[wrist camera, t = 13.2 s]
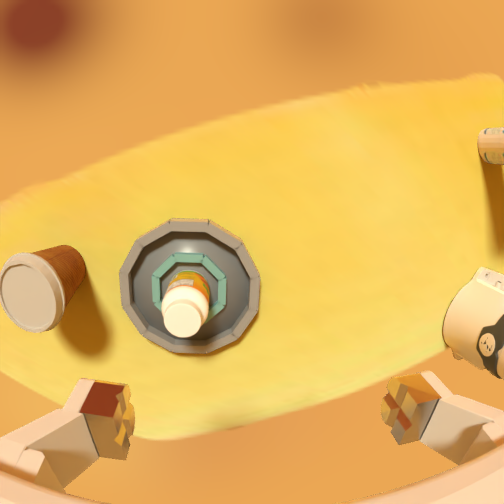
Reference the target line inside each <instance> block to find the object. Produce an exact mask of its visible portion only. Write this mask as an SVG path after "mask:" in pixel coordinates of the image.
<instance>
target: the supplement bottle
mask: <svg viewBox="0 0 504 504" xmlns="http://www.w3.org/2000/svg"><path fill="white" fill-rule="evenodd" d="M209 294H210V288H209V284H208V281H207V280H206V278H205V277H204V276H203V275H202V274H201V273H199V272H197V271H194V270H183V271H181V272H179V273H177V274H176V275H174V276H173V278H172V279H171V281H170V283H169V285H168V288H167V291H166V293H165V296H164V298H163V301H162V307H161V310H162V315H163V317H164V324H165V327H166V328H167V330H168V331H169V332H170V333H171V334H173V335H175V336H177V337H190V336H192V335H194V334H195V333H197V332H198V330H199V329H200V326H202V325H203V324H204V322H205V321H206V319H207V317H208V312H209Z"/></svg>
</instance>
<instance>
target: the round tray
mask: <svg viewBox="0 0 504 504" xmlns="http://www.w3.org/2000/svg"><path fill="white" fill-rule="evenodd" d="M183 270H194V271H197V272H199V273H201V274H202V275H203V276H204V277H205V278H206V280H207V281H208V284H209V288H210V294H209V312H208V317H207V319H206V321H205V322H204V324H203V325H202V326H200V329H199V330H198V332H197V333H195V334H194V335H192V336H190V337H177V336H175V335H173V334H171V333H170V332H169V331H168V330H167V328H166V327H165V324H164V317H163V315H162V310H161V307H162V301H163V298H164V296H165V293H166V291H167V288H168V285H169V283H170V281H171V279H172V278H173V276H174V275H176V274H177V273H179V272H181V271H183ZM119 277H120V290H121V302H122V306H123V307H122V308H123V309H124V311H125V312H126V314H127V315H128V317H129V318H130V320H131V321H132V323H133V324H134V325H135V327H136V328H137V330H138V331H139V333H140V334H141V335H142V334H143V335H142V336H143V337H145V338H147V339H149V340H150V341H152V342H154V343H156V344H158V345H160V346H161V347H163V348H165V349H167V350H169V351H171V352H172V351H173V352H177V353H205V354H206V351H207V353H209V352H212V351H214V350H216V349H218V348H220V347H222V346H225V345H227V344H229V343H231V342H233V341H235V340H237V338H239V337H240V336H241V334H242V333H243V332H244V330H245V329H246V327H247V326H248V325H249V323H250V322H251V320H252V319H253V318H254V316H255V315H256V313H257V311H258V303H259V289H260V274H259V272H258V270H257V268H256V266H255V264H254V262H253V260H252V258H251V256H250V254H249V253H248V251H247V249H246V247H245V245H244V243H243V241H242V240H241V239H240V238H239V237H237V236H236V235H234V234H232V233H231V232H229V231H228V230H226V229H224V228H223V227H221V226H219V225H218V224H216V223H215V222H213V221H211V220H210V221H209V222H208V219H180V218H172V219H169V220H168V221H166V222H164V223H162V224H161V225H159V226H157V227H155V228H154V229H152V230H150V231H148V232H147V233H145V234H143V235H141V236H140V237H139V238H138V239H137V240H136V241H135V243H134V244H133V246H132V248H131V250H130V252H129V254H128V256H127V258H126V260H125V261H124V263H123V265H122V267H121V269H120V272H119Z"/></svg>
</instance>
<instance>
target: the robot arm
mask: <svg viewBox="0 0 504 504" xmlns="http://www.w3.org/2000/svg"><path fill="white" fill-rule="evenodd" d="M443 335H444V340H445V342H446V344H447V345H448V346H449V347H450V348H451V349H452V351H453V356H454V358H456V359H457V360H460V359H462V358H464V359H465V360H467V361H468V362H469V363H471V364H473V365H474V366H475V367H477V368H478V369H480V370H483V369H487V370H488V371H489V372H490V373H491V374H492V375H494V376H496V377H497V378H499V379H503V380H504V274H501V273H499V272H496V271H493V270H490V269H487V268H485V267H480V268H479V269H478V270H477V272H476V273H475V275H474V277H473V278H472V280H471V281H470V282H469V283H467V284H466V285H465V286H464V287H463V288H462V289H461V290H460V291H459V292H458V294H457V295H456V296H455V298H454V299H453V301H452V303H451V305H450V307H449V309H448V311H447V314H446V317H445V320H444V326H443ZM387 389H388V392H389V393H388V394H387V395H386V396H385V397H384V398H383V400H382V404H381V415H382V418H383V420H384V422H385V424H387V425H389V426H391V427H392V430H391V433H392V435H393V436H394V438H395V440H396V441H397V443H398V444H399V445H402V444H406V443H410V442H414V441H418V440H420V442H422V443H424V444H425V445H427V446H428V447H430V448H431V449H433V450H435V451H436V452H438V453H440V454H441V455H443V456H444V457H446V458H448V459H450V460H451V461H453V462H454V463H456V464H458V466H457V467H454V468H452V469H450V470H447V471H445V472H442V473H440V474H437V475H434V476H432V477H429V478H426V479H424V480H421V481H418V482H415V483H412V484H409V485H406V486H403V487H400V488H397V489H393V490H390V491H386V492H383V493H379V494H375V495H371V496H367V497H364V498H360V499H355V500H350V501H346V502H341V503H336V504H504V411H502V410H499V409H496V408H493V407H491V406H488V405H485V404H482V403H480V402H477V401H474V400H472V399H469V398H466V397H463V396H460V395H458V394H456V395H454V394H453V393H452V392H451V391H450V390H449V389H448V388H447V387H446V386H445V385H444V384H443V383H442V382H441V381H440V380H439V379H438V378H437V377H436V376H435V375H434V374H433V373H432V372H431V371H423V372H419V373H416V374H411V375H405V376H399V377H393V378H391V379H390V381H389V382H388V385H387ZM130 397H131V392H130V388H129V386H128V385H127V384H122V383H114V382H107V381H101V380H93V379H87V378H81V379H79V381H78V382H77V384H76V386H75V388H74V389H73V391H72V393H71V395H70V396H69V398H68V400H67V402H66V403H65V405H64V407H63V409H57V410H54V411H53V412H51V413H49V414H47V415H45V416H43V417H41V418H39V419H37V420H35V421H33V422H31V423H29V424H27V425H25V426H23V427H21V428H19V429H17V430H15V431H13V432H11V433H9V434H7V435H4V436H2V437H1V438H0V504H109V503H104V502H99V501H95V500H90V499H85V498H82V497H78V496H74V495H70V494H66V492H65V490H64V489H63V488H65V487H66V486H67V485H68V484H69V483H71V482H72V480H74V479H75V478H76V477H78V476H79V475H80V474H81V473H82V472H83V471H85V470H86V469H87V468H88V467H89V466H91V465H92V463H94V462H95V461H96V460H97V459H98V458H99V457H105V458H112V459H119V460H126V458H127V454H128V450H129V447H130V443H129V439H128V437H130V436H131V435H133V431H134V425H135V413H134V407H133V405H132V404H131V403H130V402H129V400H130Z"/></svg>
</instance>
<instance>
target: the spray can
mask: <svg viewBox="0 0 504 504" xmlns="http://www.w3.org/2000/svg"><path fill="white" fill-rule="evenodd" d="M478 150H479V153H480V156H481V157H482V159H483V160H484V161H485V162H487V163H489V164H501V165H504V127H501V128H486V129H484V130H482V131H481V132H480V134H479V136H478Z"/></svg>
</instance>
